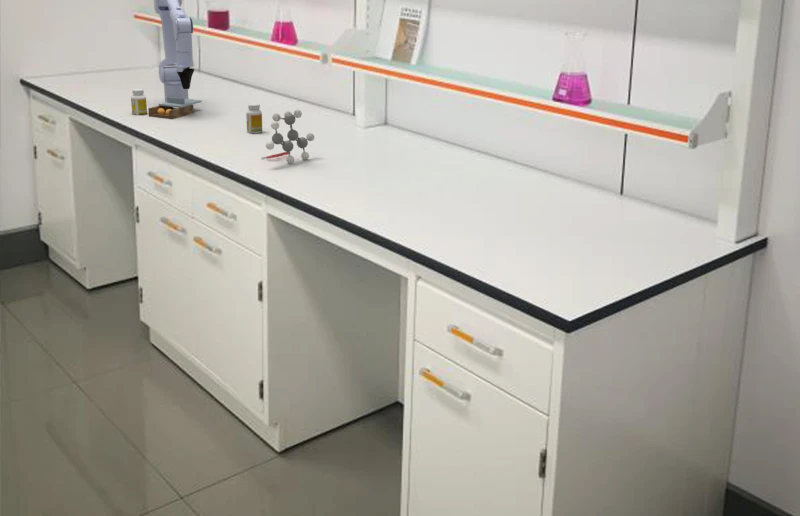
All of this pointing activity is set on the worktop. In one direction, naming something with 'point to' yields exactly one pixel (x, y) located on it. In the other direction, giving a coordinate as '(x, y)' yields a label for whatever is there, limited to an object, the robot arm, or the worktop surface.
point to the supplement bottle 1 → (138, 102)
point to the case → (172, 113)
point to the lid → (179, 102)
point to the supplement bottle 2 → (254, 118)
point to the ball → (161, 111)
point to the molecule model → (291, 135)
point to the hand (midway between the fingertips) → (186, 88)
